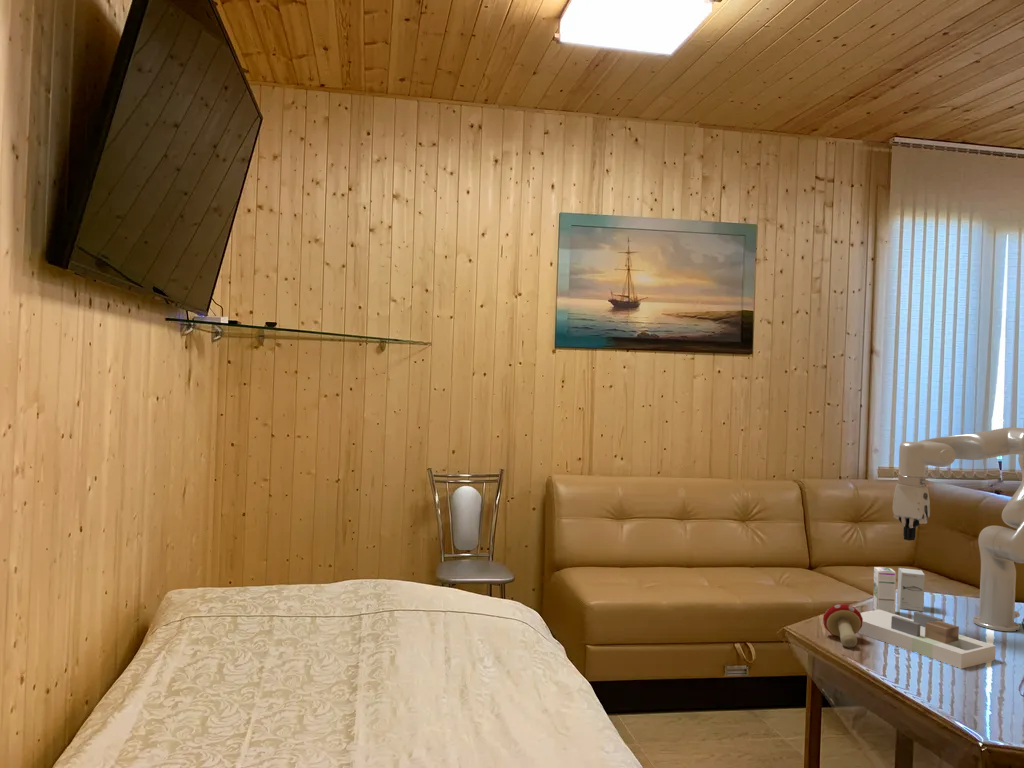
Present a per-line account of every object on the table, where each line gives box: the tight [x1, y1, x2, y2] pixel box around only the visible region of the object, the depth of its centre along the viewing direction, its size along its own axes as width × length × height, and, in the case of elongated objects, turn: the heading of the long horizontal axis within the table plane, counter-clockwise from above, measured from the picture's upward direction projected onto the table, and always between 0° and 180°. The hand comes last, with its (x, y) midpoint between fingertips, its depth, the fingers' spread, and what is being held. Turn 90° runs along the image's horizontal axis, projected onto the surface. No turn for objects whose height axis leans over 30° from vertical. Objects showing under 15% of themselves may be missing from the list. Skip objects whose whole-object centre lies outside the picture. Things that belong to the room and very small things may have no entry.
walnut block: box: [925, 620, 960, 644], centre depth 219 cm, size 6×6×4 cm
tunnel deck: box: [856, 609, 997, 670], centre depth 226 cm, size 16×36×8 cm, turn 29°
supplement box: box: [896, 567, 926, 613], centre depth 263 cm, size 7×7×13 cm
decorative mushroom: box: [822, 603, 863, 649], centre depth 226 cm, size 11×11×15 cm
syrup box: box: [872, 566, 897, 615], centre depth 257 cm, size 6×6×14 cm
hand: (909, 539), depth 243 cm, fingers closed
